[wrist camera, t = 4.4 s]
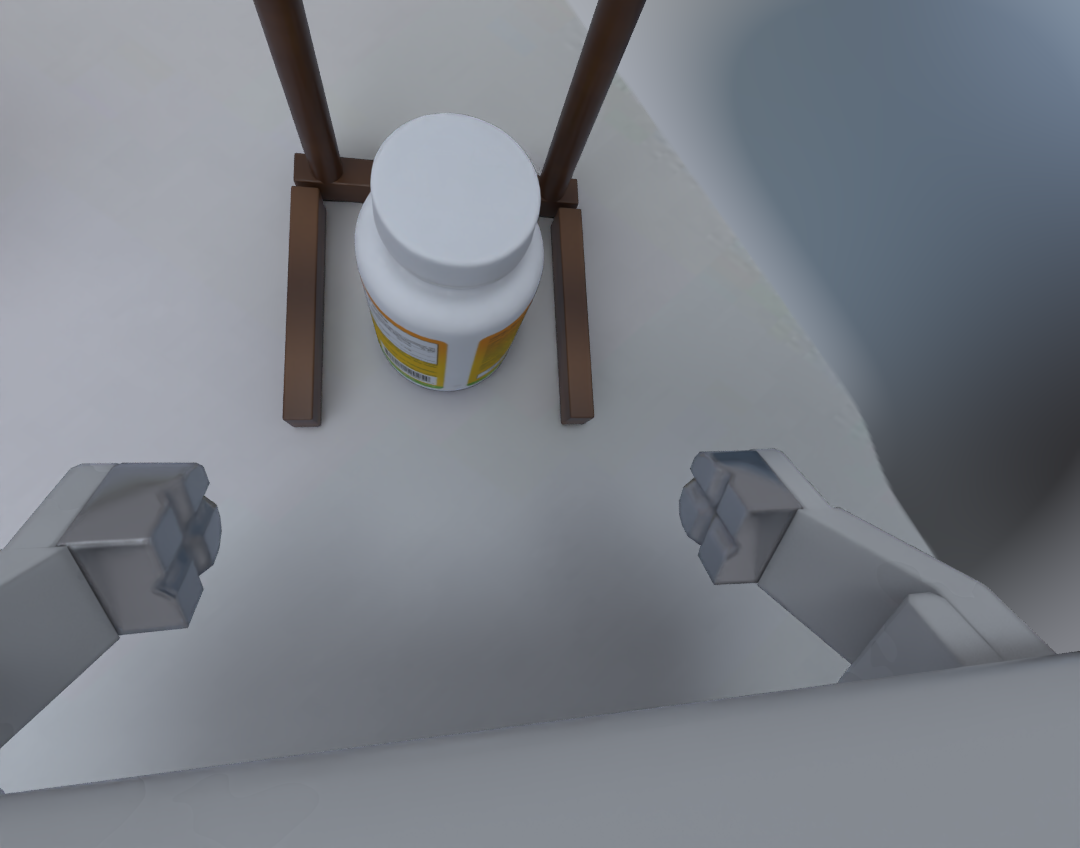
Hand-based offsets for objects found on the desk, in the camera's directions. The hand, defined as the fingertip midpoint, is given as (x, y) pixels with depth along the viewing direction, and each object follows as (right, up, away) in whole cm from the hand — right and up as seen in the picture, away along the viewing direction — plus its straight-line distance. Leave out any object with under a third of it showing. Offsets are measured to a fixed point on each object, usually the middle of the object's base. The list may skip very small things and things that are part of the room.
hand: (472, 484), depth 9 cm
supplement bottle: (-3, +5, +13) cm, 14 cm away
